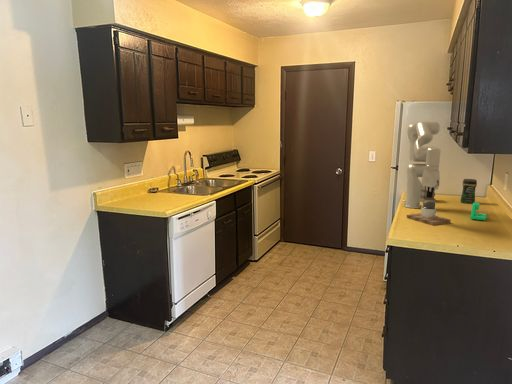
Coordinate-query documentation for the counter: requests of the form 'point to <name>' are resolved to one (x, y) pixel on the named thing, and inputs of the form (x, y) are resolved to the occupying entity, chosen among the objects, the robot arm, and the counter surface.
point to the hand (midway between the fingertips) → (429, 197)
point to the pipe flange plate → (428, 217)
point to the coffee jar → (468, 191)
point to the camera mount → (477, 215)
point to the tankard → (424, 194)
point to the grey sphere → (429, 204)
